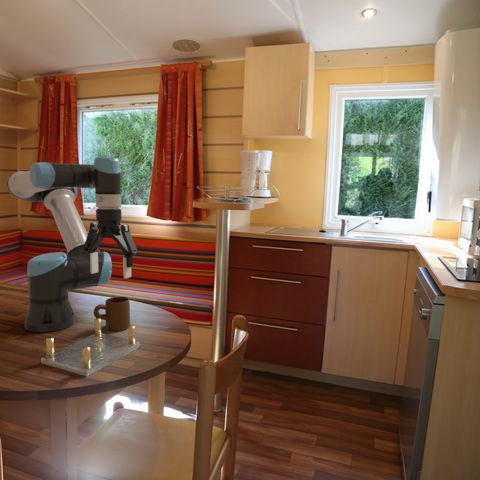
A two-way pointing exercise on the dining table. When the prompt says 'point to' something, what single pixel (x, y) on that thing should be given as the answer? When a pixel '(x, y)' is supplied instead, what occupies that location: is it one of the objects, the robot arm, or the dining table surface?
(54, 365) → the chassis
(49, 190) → the robot arm
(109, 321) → the mug
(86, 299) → the dining table surface
